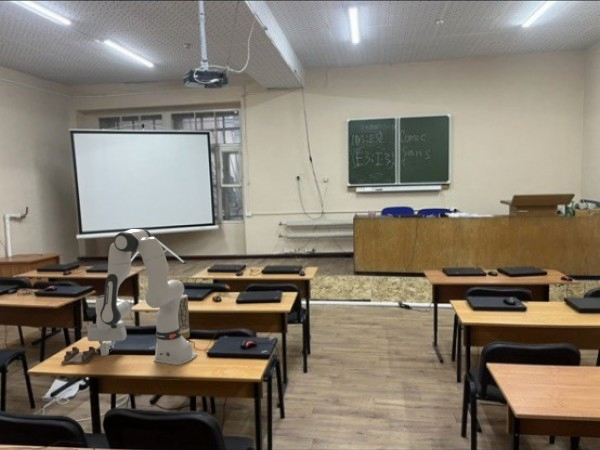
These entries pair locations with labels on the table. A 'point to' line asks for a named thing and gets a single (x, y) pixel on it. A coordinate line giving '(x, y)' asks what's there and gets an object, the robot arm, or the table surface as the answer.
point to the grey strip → (105, 348)
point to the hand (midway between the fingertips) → (107, 348)
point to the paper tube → (184, 316)
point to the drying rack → (79, 356)
